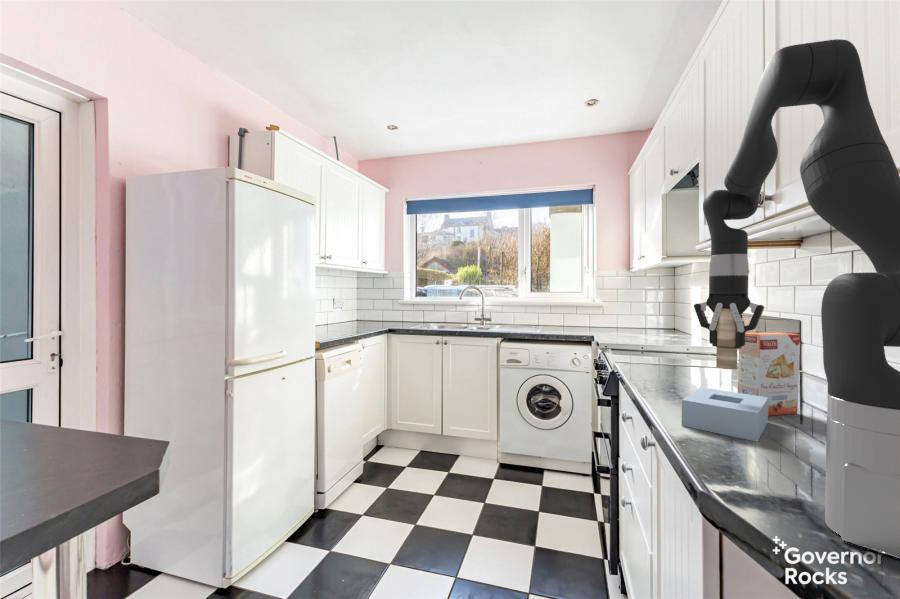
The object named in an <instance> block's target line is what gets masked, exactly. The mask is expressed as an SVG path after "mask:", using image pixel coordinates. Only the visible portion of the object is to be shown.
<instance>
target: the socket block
mask: <svg viewBox="0 0 900 599" xmlns="http://www.w3.org/2000/svg"><path fill="white" fill-rule="evenodd" d="M768 399H769V397H762V396H756V395H749V394H742V393H738V392H736V391H728V390H722V389H721V390H720V389H714V388H707V387H701V386H700V387H699V388H697V389H696V390H695V391H693V392H692V393H690V394H689V395H687V396H686V397H684V398H682V400H681V426H682V427H687V428H690V429H691V428H692V429H696V430H700V429H701V430H700V431H706V432H710V433H715V434H718V435H719V434H720V435H724V436H728V437H734V438H737V439H742V440H748V441H752V442H759V440H760V438H761V436H762V434H763V433H764V431H765V429H766V427H767V425H768V424H769V416H768Z"/></svg>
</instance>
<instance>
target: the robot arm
mask: <svg viewBox="0 0 900 599" xmlns="http://www.w3.org/2000/svg"><path fill="white" fill-rule="evenodd" d="M864 76H865V75H864V71H863V67H862V62H861V59H860V55H859V51H858V49H857V48H856V46H855V45H854V44H853V42H852V41H849V40H847V39H828V40H827V39H826V40H821V41H820V40H818V41H813V42H805V43H800V44H799V43H798V44H793V45H789V46H785V47H782V48H780V49H778V50H777V51H776V52H775V53H774V54H773V55H772V56H771V57H770V59H769V61H768V62H767V64H766V66H765V68H764V69H763V72H762V75H761V77H760V80H759V83H758V85H757V86H758V87H757V89H756V92H755V95H754V99H753V102H752V105H751V109H750V112H749V115H748V119H747V122H746V126H745V129H744V132H743V136H742V139H741V143H740V146H739V147H738V150H737V152H736V154H735V157H734V159H733V161H732V163H731V164H730V166H729V168H728V171H727V173H726V175H725V177H724V181H723V182H724V184H723V185H724V187H725V189H717V190H712V191H710V192H709V193H708V194H706V196H705V198H704V200H703V203H702V211H703V215H704V218H705V221H706V223H707V227H708V231H709V235H710V243H711V244H710V261H709V269H708V270H709V271H708V274H709V275H708V280H709V281H708V298H707V299H706V301H705V302H701V303H695V304H694V305H693V308H694V310H695V313H696V316H697V320H698V322H699V325H700V327H702V328H704V329H707V330H708V331H709V332H708V333H709V344H710V345H711V346H712V347H716V345H717V323H718V319H719V316H720V313H721V309H731V311H732V314H733V317H734V320H735V323H736V325H737V328H738V332H737V344H736V348H737V350H739V349H741V348H742V346H744V345H745V333H748V332H749V331H754V330H756V328H757V326H758V324H759V321H760V320H761V317H762V315H763V312H764V310H765V308H766V307H765V305H763V304H758V303H753V302H751V300H750V298H749V274H750V269H749V267H750V266H749V259H748V258H749V257H748V255H749V254H748V250H749V249H748V248H749V247H748V244H749V243H748V242H749V236H748V233H747V231H746V230H743V229H739V228H734V227H730V226H729V225H727V223H726V222H725V221H730V220H731V221H734V220H745V219H748V218H750V217H752V216H753V215H754V214H755V213H757V211H758V207H759V204H760V203H759V202H760V196H761V195H760V194H761V190H762V187H763V184H764V183H765V181H766V179H767V177H768V176H769V174H770V173H771V172H772V169H773V168H774V166H775V164H776V162H777V160H778V155H779V149H778V142H777V140H776V137H775V135H774V130H773V125H772V124H773V123H772V121H773V118H774V116H775V114H776V113H777V111H778V110H779V109H781V108H786V107H788V108H789V107H797V106H806V105H807V106H809V105H816V106H817V107H819V108H820V110H821V112H822V115H823V124H822V126H821V128H820V130H819V131H818V132H817V133H816V135H815V136H814V137H813V139H812V141H811V143H810V144H809V145H808V147H807V149H806V151H805V152H804V154H803V156H802V159H801V162H800V166H799V172H800V173H799V175H800V179H801V182H802V186H803V188H804V193H805V195H806V199H807V201H808V204H809V205H810V207H811V208H812V211H814V212H815V213H816V214H817V215H818V216H819V217H820V218H821V219H822V220H823V221H825V222H826V223H827V224H828V225H830V227H832V228H834V229H835V230H836V231H838V233H841V234H842V235H844V237H846V238H848V239H849V240H850V241H851V242H853V243H854V244H855V245H857V246H858V248H860V249H861V250H862V251H863V253H864V254H865V255H866V256H867V258H868V259H869V261H870V262H871V263H872V265H873V267H874V270H875V271H876V272H874V271H873V272H848V273H843V274H840V275H837V276H836V277H834V278H833V279H831V281H830V282H829V283H828V285H826V286H827V287H826V288H825V290H824V293H823V295H822V301H821V311H820V312H821V314H820V316H821V317H820V318H821V320H820V322H821V333H822V334H821V335H822V336H821V337H822V359H823V360H822V361H823V369H824V374H825V377H826V380H827V406H826V407H827V409H826V411H827V412H826V414H827V415H826V444H825V447H826V448H825V449H826V451H825V454H826V455H825V490H824V492H825V496H824V497H825V499H824V500H825V502H824V504H825V505H824V507H825V508H824V509H825V510H824V512H825V513H824V515H825V516H824V523H825V525H826V526H827V527H828V528H829V529H830V530H831V531H833V533H835V532H836V533H837V535H838V534H839V535H840V536H841V537H840V536H839V535H838V536H839V537H840V540H841V539H842V540H845V541H848V542H851V543H854V544H858V545H861V546H866V547H869V548H875V549H878V550H881V551H884V552H887V553H890V554H892V555H895V556H897V557H899V558H900V370H897V369H896V368H894V367H893V366H892V365H890V364H889V362H888V361H887V356H886V353H885V347H890V348H891V347H892V348H895V347H896V348H897V347H898V348H899V347H900V173H899V171H898V168H897V165H896V162H895V160H894V158H893V155H892V153H891V150H890V148H889V146H888V145H887V142H886V140H885V139H884V137H883V135H882V132H881V129H880V128H879V125H878V122H877V119H876V116H875V114H874V111H873V108H872V106H871V102H870V98H869V95H868V91H867V86H866V81H865V77H864ZM707 307H708V308H709V310H711V312H712V313H713V315H712V317H711V321H710V323H709V322H708V319H707V316H706V310H707ZM749 308H750V312H751V313H752V317H751V318H750V321H749V323H748V324H747V325H746V323H745V320H744V317H743V316H744V315H743V313H745V311H747V309H749ZM836 533H835V534H836ZM842 540H841V541H842Z"/></svg>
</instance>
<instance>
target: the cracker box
mask: <svg viewBox="0 0 900 599" xmlns="http://www.w3.org/2000/svg"><path fill="white" fill-rule="evenodd" d="M800 353H801V334H799V333H794V332H793V333H792V332H790V333H789V332H776V331H775V332H769V331H768V332H767V331H765V332H760V331H759V332H746V333H745V345H744V346H742V348H741V349H738V366H737V369H738V372H737V373H738V374H737V393H742V394H749V395H756V396H762V397H769V399H768V417H770V416H783V415H793V414H794V415H797V414H798V406H799V405H798V401H799V382H800V381H799V378H800V360H801V359H800V355H801V354H800Z"/></svg>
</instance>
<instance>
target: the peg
mask: <svg viewBox="0 0 900 599" xmlns="http://www.w3.org/2000/svg"><path fill="white" fill-rule="evenodd" d="M737 332H738V328H737V325H736V323H735V320H734V317H733V314H732V311H731V309H721V313H720V316H719V319H718V323H717V345H716V346H715V347H716V353H715V354H716V357H715V358H716V364H715V365H716V368H718V369H723V370H737V369H738V348H736V344H737Z"/></svg>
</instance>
